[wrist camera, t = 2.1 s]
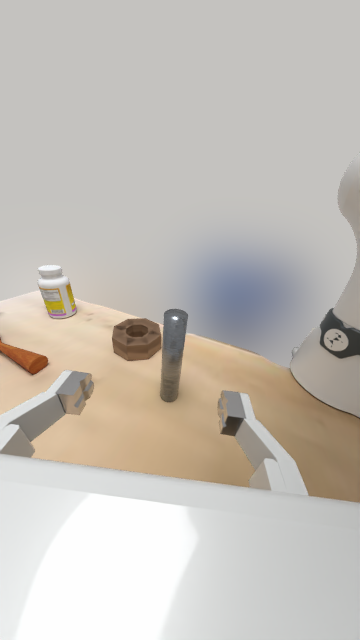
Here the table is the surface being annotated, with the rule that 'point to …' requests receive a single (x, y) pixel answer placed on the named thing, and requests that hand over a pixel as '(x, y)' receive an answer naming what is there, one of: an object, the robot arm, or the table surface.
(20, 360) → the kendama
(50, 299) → the supplement bottle
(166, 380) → the grey metal peg
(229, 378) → the table surface
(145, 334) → the bead
